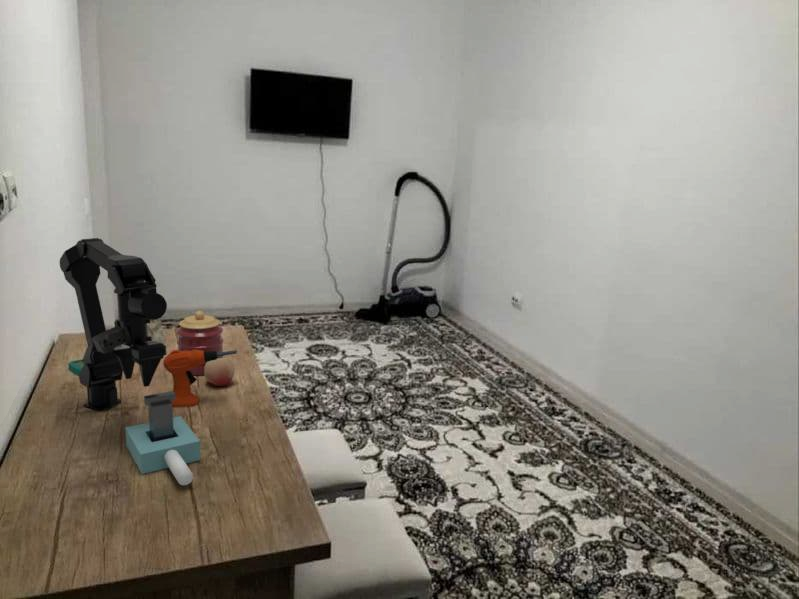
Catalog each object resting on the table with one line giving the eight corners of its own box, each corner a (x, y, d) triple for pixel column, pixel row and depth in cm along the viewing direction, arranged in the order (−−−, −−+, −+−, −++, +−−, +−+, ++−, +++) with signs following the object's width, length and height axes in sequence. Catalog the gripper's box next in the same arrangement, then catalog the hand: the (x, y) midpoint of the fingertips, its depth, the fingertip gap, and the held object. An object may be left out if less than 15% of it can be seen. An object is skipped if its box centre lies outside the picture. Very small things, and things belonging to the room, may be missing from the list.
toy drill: (243, 397, 164) (235, 344, 160) (168, 411, 160) (157, 356, 155) (243, 390, 168) (235, 338, 164) (169, 403, 164) (159, 349, 160)
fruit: (231, 377, 181) (230, 351, 179) (236, 387, 174) (236, 360, 172) (202, 380, 178) (201, 354, 176) (207, 391, 171) (206, 363, 169)
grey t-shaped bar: (145, 452, 137) (142, 394, 134) (174, 445, 140) (171, 389, 137) (150, 460, 134) (147, 400, 131) (179, 453, 137) (176, 395, 134)
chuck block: (126, 445, 139) (125, 427, 138) (181, 433, 146) (180, 416, 145) (154, 497, 120) (153, 476, 119) (216, 481, 127) (215, 461, 126)
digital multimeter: (130, 365, 187) (129, 356, 186) (78, 377, 176) (77, 367, 176) (118, 359, 192) (118, 350, 191) (67, 370, 181) (66, 361, 180)
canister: (175, 377, 179) (173, 317, 175) (180, 361, 191) (178, 305, 187) (223, 375, 182) (222, 316, 178) (224, 360, 194) (223, 305, 190)
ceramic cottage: (143, 333, 215) (139, 291, 211) (175, 345, 207) (172, 302, 202) (101, 347, 203) (96, 303, 198) (133, 360, 195) (129, 314, 190)
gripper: (78, 314, 141) (84, 382, 143) (113, 325, 128) (119, 398, 130) (128, 308, 149) (132, 372, 151) (165, 317, 136) (169, 387, 138)
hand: (137, 382), depth 143 cm, fingers open, 9 cm apart
